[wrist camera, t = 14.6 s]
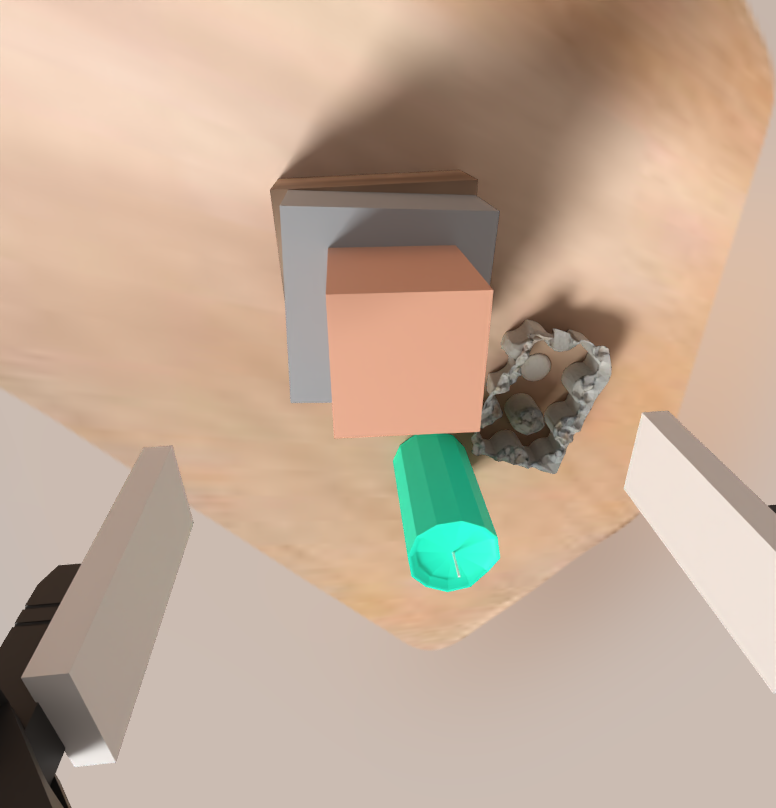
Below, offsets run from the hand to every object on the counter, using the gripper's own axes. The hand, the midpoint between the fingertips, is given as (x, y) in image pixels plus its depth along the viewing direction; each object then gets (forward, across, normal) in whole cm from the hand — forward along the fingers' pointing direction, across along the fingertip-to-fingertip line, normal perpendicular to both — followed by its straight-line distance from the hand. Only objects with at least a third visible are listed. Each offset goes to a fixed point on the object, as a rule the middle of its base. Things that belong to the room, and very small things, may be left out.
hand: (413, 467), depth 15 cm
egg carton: (+23, +12, -10) cm, 28 cm away
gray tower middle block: (+18, 0, 0) cm, 18 cm away
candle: (+23, +4, -17) cm, 28 cm away
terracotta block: (+13, +1, 0) cm, 13 cm away
